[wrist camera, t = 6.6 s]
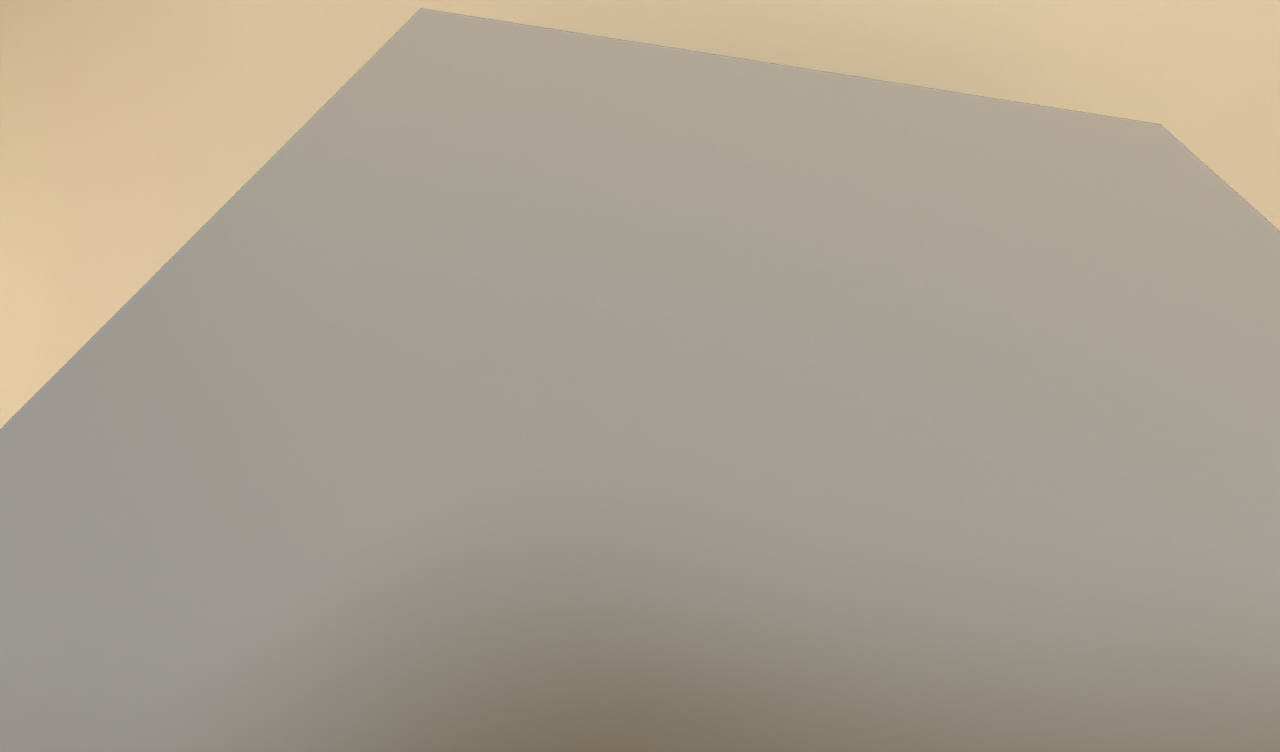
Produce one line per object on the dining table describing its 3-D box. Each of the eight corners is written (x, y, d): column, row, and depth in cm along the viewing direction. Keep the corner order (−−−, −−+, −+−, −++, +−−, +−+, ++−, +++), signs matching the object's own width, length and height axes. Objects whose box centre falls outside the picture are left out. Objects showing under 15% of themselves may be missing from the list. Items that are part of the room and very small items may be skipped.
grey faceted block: (1160, 124, 9) (2785, 1581, 2) (916, 592, 14) (1137, 1511, 7) (421, 7, 9) (-759, 1185, 2) (432, 524, 13) (129, 1404, 6)
